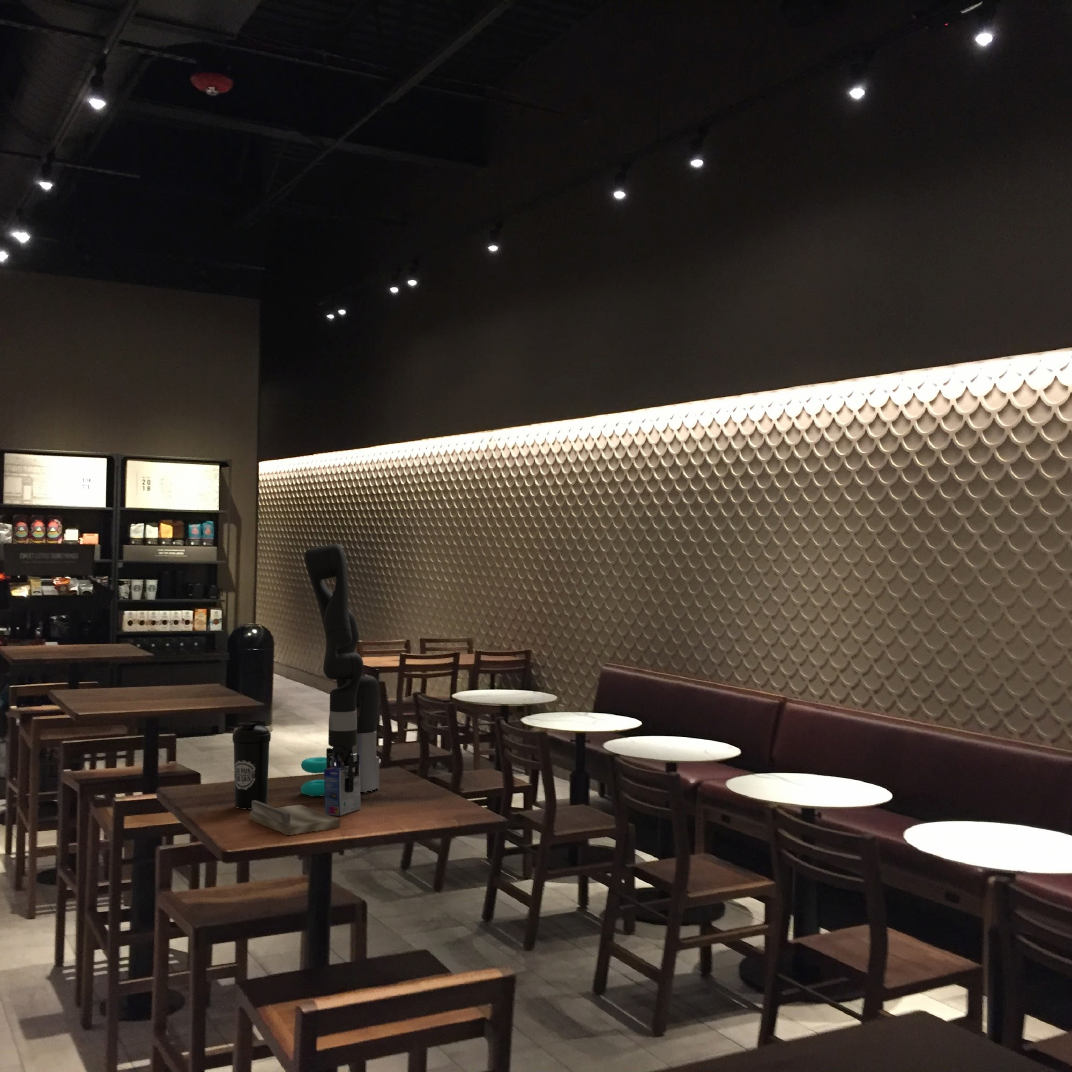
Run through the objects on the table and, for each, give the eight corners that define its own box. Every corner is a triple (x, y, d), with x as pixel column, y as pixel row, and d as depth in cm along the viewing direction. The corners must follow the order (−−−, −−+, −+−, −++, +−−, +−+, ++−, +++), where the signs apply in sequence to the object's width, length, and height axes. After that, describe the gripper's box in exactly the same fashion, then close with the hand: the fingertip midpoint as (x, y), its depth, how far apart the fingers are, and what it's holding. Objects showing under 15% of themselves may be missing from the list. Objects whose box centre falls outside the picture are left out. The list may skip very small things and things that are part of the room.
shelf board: (299, 812, 286) (299, 793, 286) (339, 827, 268) (339, 807, 269) (248, 819, 277) (249, 800, 277) (287, 836, 259) (287, 815, 260)
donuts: (340, 760, 307) (305, 763, 303) (339, 795, 307) (305, 798, 302) (331, 755, 316) (297, 757, 312) (331, 789, 316) (297, 792, 311)
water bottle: (224, 808, 289) (225, 723, 290) (245, 801, 299) (245, 718, 300) (257, 811, 286) (258, 724, 287) (277, 803, 296) (278, 719, 297)
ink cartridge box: (344, 807, 291) (345, 753, 292) (361, 809, 289) (362, 755, 290) (322, 814, 282) (323, 759, 283) (340, 816, 280) (340, 761, 281)
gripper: (368, 729, 283) (368, 792, 283) (342, 723, 294) (341, 784, 294) (343, 732, 279) (342, 796, 278) (317, 725, 290) (316, 787, 289)
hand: (342, 789), depth 286 cm, fingers closed on ink cartridge box, 7 cm apart
